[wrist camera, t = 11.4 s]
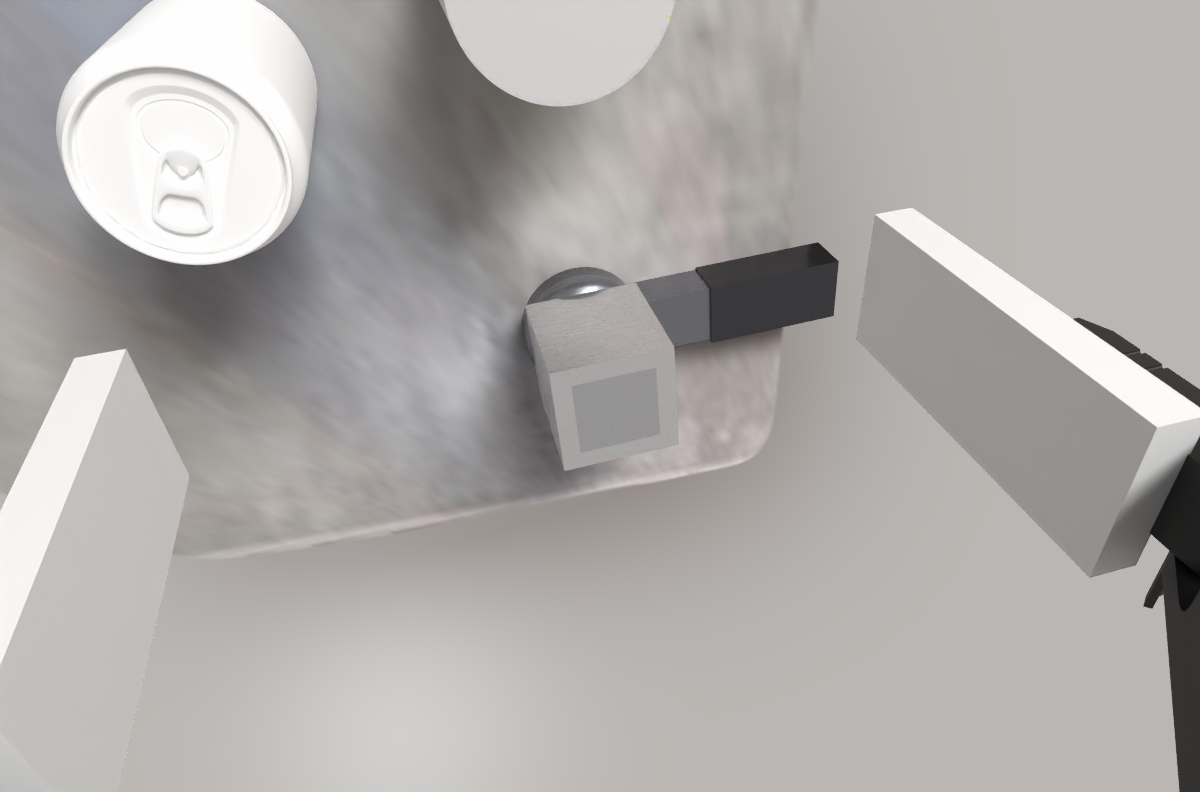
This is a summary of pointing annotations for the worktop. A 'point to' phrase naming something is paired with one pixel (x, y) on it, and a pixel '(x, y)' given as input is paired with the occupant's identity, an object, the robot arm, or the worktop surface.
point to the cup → (558, 44)
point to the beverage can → (192, 130)
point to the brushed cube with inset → (604, 375)
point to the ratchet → (721, 294)
